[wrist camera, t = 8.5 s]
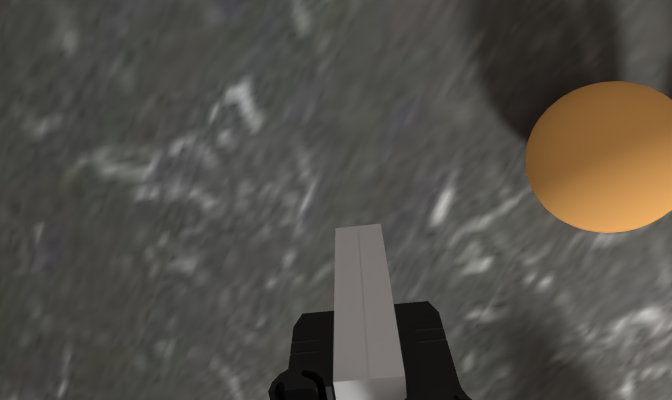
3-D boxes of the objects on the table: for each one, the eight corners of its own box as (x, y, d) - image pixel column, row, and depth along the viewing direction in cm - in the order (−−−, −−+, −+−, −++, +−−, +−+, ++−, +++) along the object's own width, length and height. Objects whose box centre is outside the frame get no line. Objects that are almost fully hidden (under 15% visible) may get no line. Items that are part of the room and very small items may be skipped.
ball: (711, 222, 20) (574, 181, 24) (747, 73, 17) (586, 61, 22) (629, 282, 17) (493, 223, 22) (657, 117, 14) (496, 91, 19)
